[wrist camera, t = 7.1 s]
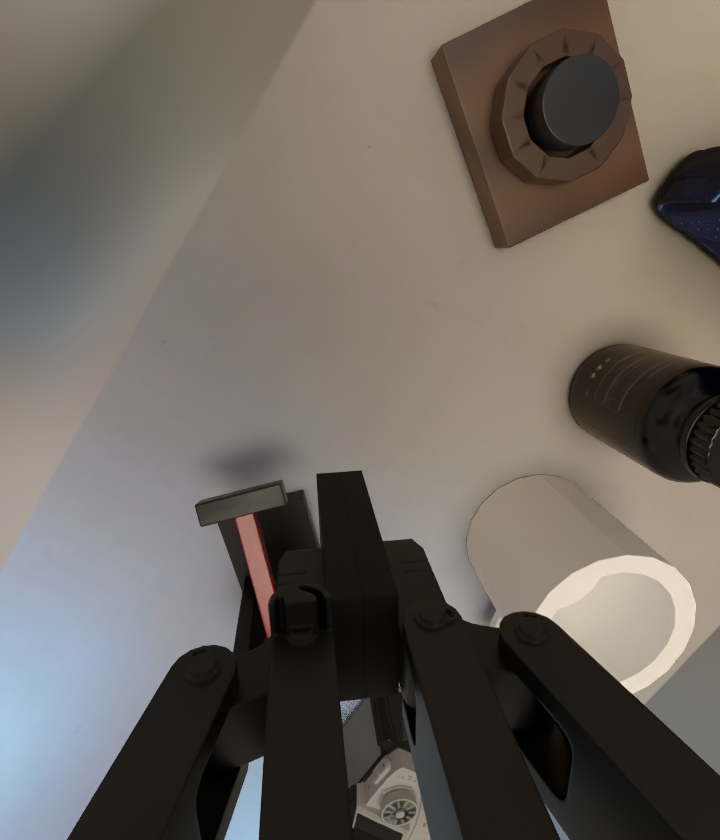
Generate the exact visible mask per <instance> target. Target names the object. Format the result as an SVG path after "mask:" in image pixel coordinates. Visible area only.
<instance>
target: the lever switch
mask: <svg viewBox="0 0 720 840" xmlns="http://www.w3.org/2000/svg"><path fill="white" fill-rule="evenodd" d="M286 495H287V499H288V501H287V503H286V505H285V506H281V507H277V508H273V509H269V510H265V511H261V512H257V517H258V520H259V524H260V528H261V532H262V535H263V539H264V543H265V547H266V550H267V554H268V558H269V562H270V565H271V569H272V573H273V577H274V580H275V584H276V588H277V580H278V563H279V561H280V560H281V558H282V557H283V555H284V554H285V553H286V551H293V550H304V549H316V548H320V546H319V543H318V539H317V536H316V532H315V529H314V525H313V522H312V519H311V515H310V512H309V508H308V505H307V501H306V498H305V494H304V491H303V490H301V491H297V492H294V493H290V494H286ZM218 525H219V528H220V531H221V533H222V536H223V539H224V542H225V544H226V547H227V550H228V553H229V556H230V558H231V561H232V564H233V567H234V570H235V572H236V575H237V578H238V581H239V583H240V586H241V589H242V592H243V593H242V599H241V605H240V612H239V618H238V624H237V631H236V637H235V643H234V650H233V653H234V655H235V656H237V655H240V654H243V653H245V652H248V651H250V650H252V649H255V648H257V647H258V646H260V645H261V644H262V643H263V642H264V638H266V637H267V636H266V632H265V628H264V625H263V621H262V617H261V613H260V610H259V606H258V602H257V599H256V595H255V591H254V587H253V584H252V580H251V576H250V573H249V569H248V565H247V562H246V558H245V554H244V550H243V547H242V543H241V539H240V536H239V532H238V528H237V524H236V521H235V518H234V519H230V520H226V521H223V522H219V523H218Z"/></svg>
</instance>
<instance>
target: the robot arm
mask: <svg viewBox="0 0 720 840" xmlns="http://www.w3.org/2000/svg"><path fill="white" fill-rule="evenodd" d="M317 491H318V509H319V526H320V543H321V548H316V549H304V550H293V551H286V553H285V554H284V555H283V557H282V558H281V560H280V561H279V563H278V580H277V591H276V592H275V593H274V594H273V595H271V597H270V600H269V602H268V610H269V620H270V630H271V635H270V637H269V638H268V639H267V640H266V641H265V642H264V643H262V644H261V645H260V646H258V647H257V648H255V649H252V650H250V651H248V652H245V653H243V654H240V655H237V656H235V655H234V653H233V652H231V651H230V650H229V649H227V648H226V647H222V646H218V645H210V646H202V647H199V648H196V649H193V650H190V651H189V652H187V653H186V654H184V655H183V656H181V657H179V659H178V660H177V661H176V662H175V663H174V664H173V666H172V667H171V668H170V670H169V672H168V673H167V675H166V677H165V678H164V680H163V682H162V683H161V685H160V687H159V688H158V690H157V691H156V693H155V695H154V696H153V698H152V700H151V701H150V703H149V705H148V706H147V708H146V710H145V711H144V713H143V715H142V716H141V718H140V720H139V721H138V723H137V725H136V726H135V728H134V730H133V731H132V733H131V734H130V736H129V738H128V739H127V741H126V743H125V744H124V746H123V748H122V749H121V751H120V753H119V754H118V756H117V758H116V759H115V761H114V763H113V764H112V766H111V768H110V769H109V771H108V773H107V774H106V776H105V778H104V779H103V781H102V782H101V784H100V786H99V787H98V789H97V791H96V792H95V794H94V796H93V797H92V799H91V801H90V802H89V804H88V806H87V807H86V809H85V811H84V812H83V814H82V816H81V817H80V819H79V821H78V822H77V824H76V825H75V827H74V829H73V830H72V832H71V834H70V835H69V837H68V839H67V840H224V838H225V835H226V832H227V829H228V826H229V824H230V821H231V818H232V815H233V812H234V809H235V806H236V803H237V800H238V797H239V794H240V791H241V788H242V785H243V782H244V779H245V777H246V774H247V771H248V764H249V762H251V761H253V760H256V759H258V758H260V757H262V756H264V763H263V779H262V796H261V812H260V829H259V840H354V837H353V827H352V817H351V807H350V798H349V788H348V778H347V768H346V758H345V748H344V738H343V728H342V718H341V708H340V701H348V700H357V699H365V698H374V697H382V696H390V695H399V683H400V687H401V692H402V696H403V741H406V740H408V741H409V745H410V750H411V754H412V759H413V763H414V768H415V772H416V776H417V781H418V785H419V790H420V794H421V799H422V803H423V807H424V812H425V816H426V821H427V825H428V830H429V834H430V839H431V840H560V838H559V835H558V833H557V831H556V829H555V827H554V824H553V822H552V820H551V818H550V815H549V813H548V811H547V808H548V809H549V810H550V812H551V813H552V815H553V816H554V817H555V819H556V820H557V822H558V823H559V825H560V826H561V827H562V829H563V830H564V832H565V833H566V835H567V836H568V838H569V839H570V840H720V775H718V774H717V773H716V772H715V771H714V770H713V769H712V768H711V767H710V766H709V765H708V764H707V763H706V762H705V761H703V760H702V759H701V758H700V757H699V756H698V755H697V754H696V753H695V752H694V751H693V750H692V749H691V748H690V747H688V746H687V745H686V744H685V743H684V742H683V741H682V740H681V739H680V738H679V737H678V736H677V735H676V734H674V733H673V732H672V731H671V730H670V729H669V728H668V727H667V726H666V725H665V724H664V723H663V722H662V721H660V720H659V719H658V718H657V717H656V716H655V715H654V714H653V713H652V712H651V711H650V710H648V708H647V707H645V706H644V705H643V704H642V703H641V702H640V701H639V700H638V699H637V698H636V697H635V696H634V695H633V694H632V693H630V692H629V691H628V690H627V689H626V688H625V687H624V686H623V685H622V684H621V683H620V682H619V681H618V680H617V679H615V678H614V677H613V676H612V675H611V674H610V673H609V672H608V671H607V670H606V669H605V668H604V667H603V666H602V665H600V664H599V663H598V662H597V661H596V660H595V659H594V658H593V657H592V656H591V655H590V654H589V653H588V652H586V651H585V650H584V649H583V648H582V647H581V646H580V645H579V644H578V643H577V642H576V641H575V640H574V639H573V638H571V637H570V636H569V635H568V634H567V633H566V632H565V631H564V630H563V629H562V628H561V627H560V626H559V625H558V624H556V623H555V622H553V621H552V620H551V619H549V618H548V617H546V616H543V615H540V614H538V613H534V612H527V611H520V612H513V613H510V614H509V615H507V616H505V617H504V618H503V619H502V621H501V622H500V624H499V628H496V627H489V626H482V625H477V624H472V623H469V622H467V621H464V620H462V617H461V616H460V614H459V613H458V612H457V610H456V609H455V608H453V607H452V606H450V605H448V604H447V603H446V601H445V599H444V597H443V594H442V592H441V590H440V587H439V585H438V582H437V580H436V578H435V575H434V573H433V571H432V568H431V566H430V564H429V562H428V559H427V557H426V554H425V552H424V549H423V548H422V547H421V546H420V545H418V544H417V543H416V542H415V541H414V540H412V539H404V540H393V541H382V538H381V535H380V531H379V528H378V524H377V521H376V518H375V514H374V511H373V508H372V504H371V501H370V497H369V494H368V491H367V487H366V484H365V481H364V477H363V474H362V471H349V472H335V473H321V474H317ZM544 803H545V804H544ZM545 805H546V806H547V808H546V806H545Z"/></svg>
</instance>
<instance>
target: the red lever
mask: <svg viewBox="0 0 720 840" xmlns="http://www.w3.org/2000/svg"><path fill="white" fill-rule="evenodd" d="M287 501H288V499H287V495H286V491H285V487H284V483H283V480H278V481H275V482H271V483H267V484H263V485H259V486H255V487H251V488H247V489H243V490H239V491H235V492H232V493H228V494H224V495H220V496H216V497H212V498H208V499H204V500H201V501H200V502H198V503H197V504H196V505H195V508H196V512H197V516H198V519H199V523H200V526H201V527H203V526H207V525H211V524H215V523H219V522H223V521H226V520H230V519H234V518H235V521H236V524H237V528H238V532H239V536H240V539H241V543H242V547H243V550H244V554H245V558H246V562H247V565H248V569H249V573H250V576H251V580H252V584H253V587H254V591H255V595H256V599H257V602H258V606H259V610H260V613H261V617H262V621H263V625H264V628H265V632H266V636H267V637H266V638H264V642H265V641H266V640H267V639H268V638H269V637H270V635H271V630H270V620H269V610H268V602H269V600H270V597H271V595H273V594H274V593H275V592H276V591H277V588H276V584H275V580H274V577H273V573H272V569H271V565H270V562H269V558H268V554H267V550H266V547H265V543H264V539H263V535H262V532H261V528H260V524H259V520H258V517H257V512H261V511H265V510H269V509H273V508H277V507H281V506H285V505H286V503H287ZM264 642H263V643H264Z"/></svg>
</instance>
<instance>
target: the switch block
mask: <svg viewBox="0 0 720 840" xmlns="http://www.w3.org/2000/svg"><path fill="white" fill-rule="evenodd" d="M578 54H591V55H595V56H597V57H600V58H601V59H603V60H604V61H605V62H607V63H608V64H609V66H610V67H611V68H612V70H613V71H614V73H615V75H616V78H617V81H618V86H619V104H618V109H617V112H616V115H615V118H614V120H613V122H612V123H611V125H610V126H609V128H608V129H607V130H606V132H605V133H604V134H603V135H602V136H601V137H599V138H598V139H597V140H595V141H593V142H591V143H589V144H587V145H584V146H581V147H578V148H576V149H573V150H570V151H566V152H556V151H552V150H549V149H547V148H545V147H544V146H542V145H541V144H540V143H539V142H538V141H537V140H536V138H535V137H534V135H533V133H532V131H531V128H530V125H529V120H528V106H529V101H530V97H531V94H532V92H533V90H534V88H535V86H536V84H537V83H538V82H539V80H540V79H541V78H542V77H543V76H544V75H545V74H546V73H548V72H549V71H550V70H552V69H553V68H554V67H556V66H557V65H559V64H560V63H561V62H563V61H564V60H566V59H568V58H569V57H572V56H574V55H578ZM431 62H432V64H433V67H434V70H435V73H436V76H437V79H438V82H439V85H440V88H441V91H442V94H443V96H444V99H445V102H446V105H447V108H448V111H449V114H450V117H451V120H452V123H453V125H454V128H455V131H456V134H457V137H458V140H459V143H460V146H461V149H462V152H463V154H464V157H465V160H466V163H467V166H468V169H469V172H470V175H471V178H472V181H473V183H474V186H475V189H476V192H477V195H478V198H479V201H480V204H481V207H482V210H483V212H484V215H485V218H486V221H487V224H488V227H489V230H490V233H491V236H492V239H493V241H494V244H495V247H496V248H510V247H512V246H514V245H516V244H518V243H520V242H522V241H524V240H526V239H528V238H530V237H532V236H534V235H537V234H539V233H541V232H543V231H545V230H547V229H549V228H551V227H553V226H555V225H557V224H559V223H561V222H563V221H566V220H568V219H570V218H572V217H574V216H576V215H578V214H580V213H582V212H584V211H586V210H588V209H590V208H592V207H595V206H597V205H599V204H601V203H603V202H605V201H607V200H609V199H611V198H613V197H615V196H617V195H619V194H621V193H624V192H626V191H628V190H630V189H632V188H634V187H636V186H638V185H640V184H642V183H644V182H646V181H648V180H649V178H648V174H647V170H646V166H645V161H644V157H643V153H642V149H641V144H640V140H639V136H638V131H637V127H636V123H635V119H634V114H633V110H632V106H631V97H632V94H631V90H630V86H629V82H628V77H627V73H626V69H625V64H624V60H623V59H622V58H621V56H620V54H619V50H618V46H617V42H616V37H615V33H614V29H613V25H612V20H611V16H610V12H609V7H608V3H607V0H532V1H530V2H528V3H526V4H524V5H522V6H520V7H518V8H516V9H514V10H512V11H510V12H508V13H506V14H504V15H502V16H500V17H498V18H496V19H494V20H492V21H490V22H488V23H486V24H484V25H482V26H480V27H478V28H476V29H474V30H472V31H470V32H467V33H465V34H463V35H461V36H459V37H457V38H455V39H453V40H451V41H449V42H447V43H445V44H443V45H442V46H441V47H440V48H439V50H438V51H437V53H436V54H435V55H434V57H433V58H432V60H431Z"/></svg>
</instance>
